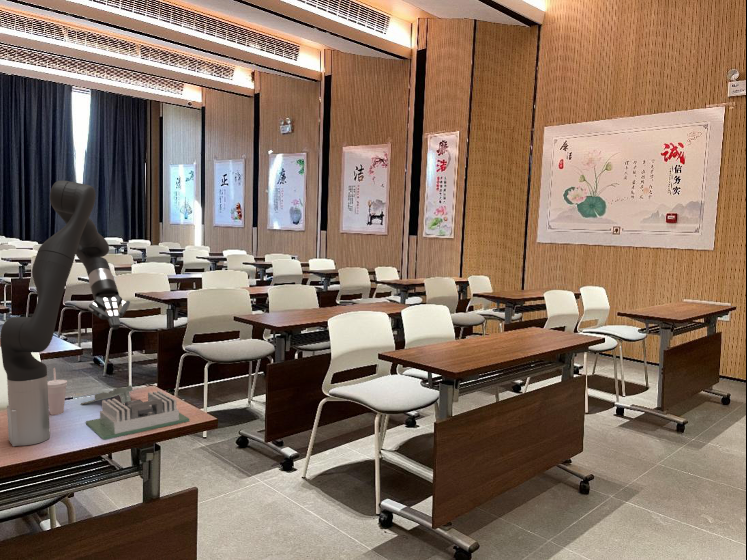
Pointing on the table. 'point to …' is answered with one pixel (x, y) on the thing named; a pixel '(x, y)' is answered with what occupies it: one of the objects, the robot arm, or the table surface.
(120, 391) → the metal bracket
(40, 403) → the robot arm
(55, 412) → the smoothie
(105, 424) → the heatsink
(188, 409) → the table surface
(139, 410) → the dark gray rectangular plate
